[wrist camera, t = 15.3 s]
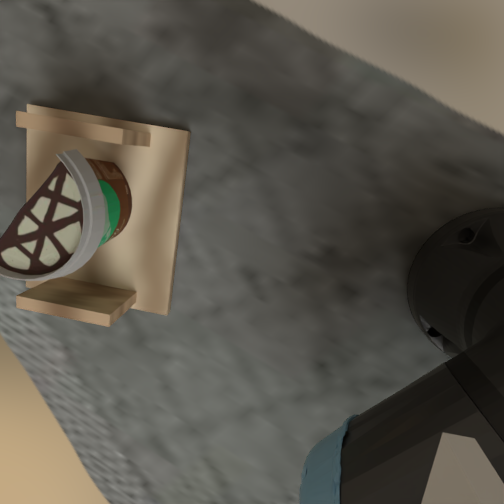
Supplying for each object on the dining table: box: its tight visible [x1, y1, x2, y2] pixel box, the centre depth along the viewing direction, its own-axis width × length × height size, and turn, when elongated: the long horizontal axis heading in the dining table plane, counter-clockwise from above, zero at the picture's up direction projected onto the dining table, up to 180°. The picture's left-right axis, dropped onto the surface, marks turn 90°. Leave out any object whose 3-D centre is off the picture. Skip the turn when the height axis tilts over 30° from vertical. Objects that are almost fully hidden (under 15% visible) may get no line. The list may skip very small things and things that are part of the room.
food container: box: [0, 149, 132, 281], centre depth 33 cm, size 12×6×10 cm, turn 136°
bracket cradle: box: [16, 104, 191, 327], centre depth 35 cm, size 16×19×7 cm
